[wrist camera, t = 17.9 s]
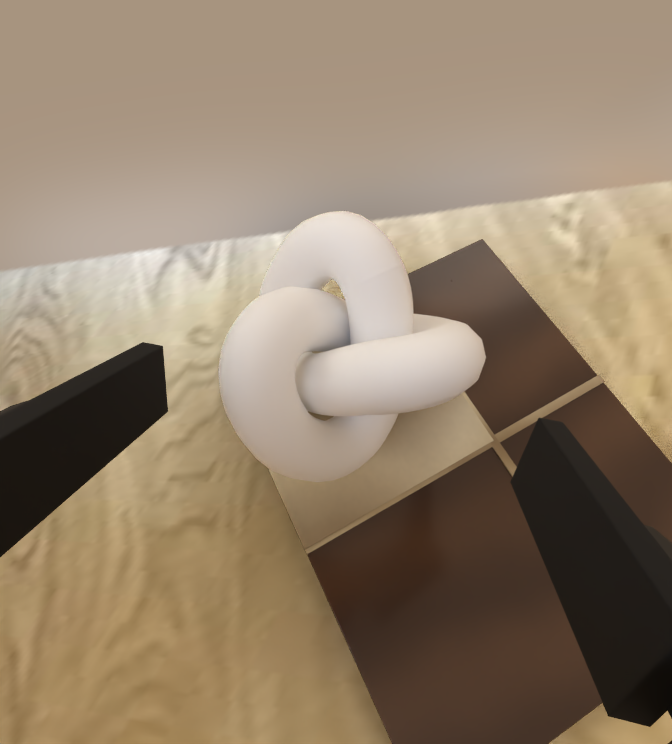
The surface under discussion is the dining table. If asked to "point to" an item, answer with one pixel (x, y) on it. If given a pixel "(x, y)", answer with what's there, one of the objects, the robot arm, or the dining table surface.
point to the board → (471, 528)
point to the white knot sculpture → (337, 352)
